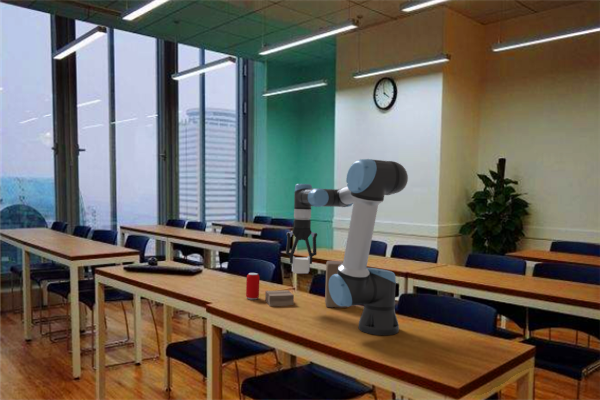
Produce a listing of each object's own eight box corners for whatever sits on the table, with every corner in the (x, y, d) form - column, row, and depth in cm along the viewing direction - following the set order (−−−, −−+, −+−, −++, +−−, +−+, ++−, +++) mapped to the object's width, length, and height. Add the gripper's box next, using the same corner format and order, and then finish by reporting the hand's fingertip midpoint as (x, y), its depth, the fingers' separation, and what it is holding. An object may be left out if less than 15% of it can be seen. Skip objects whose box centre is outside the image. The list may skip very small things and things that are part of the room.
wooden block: (347, 308, 206) (349, 264, 206) (325, 307, 206) (327, 263, 206) (346, 303, 216) (347, 261, 216) (324, 302, 216) (326, 260, 216)
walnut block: (293, 306, 208) (293, 295, 208) (269, 306, 206) (269, 295, 206) (287, 300, 219) (288, 290, 219) (265, 301, 216) (265, 290, 216)
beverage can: (254, 300, 215) (255, 275, 215) (243, 298, 218) (244, 273, 218) (261, 298, 221) (262, 273, 221) (250, 296, 224) (251, 272, 224)
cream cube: (308, 273, 199) (308, 259, 199) (294, 273, 198) (295, 259, 198) (306, 271, 205) (306, 257, 205) (293, 270, 204) (293, 257, 204)
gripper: (321, 218, 206) (320, 270, 207) (280, 217, 204) (278, 269, 204) (325, 219, 199) (323, 272, 199) (281, 218, 196) (280, 272, 197)
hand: (300, 271), depth 202 cm, fingers closed on cream cube, 6 cm apart
